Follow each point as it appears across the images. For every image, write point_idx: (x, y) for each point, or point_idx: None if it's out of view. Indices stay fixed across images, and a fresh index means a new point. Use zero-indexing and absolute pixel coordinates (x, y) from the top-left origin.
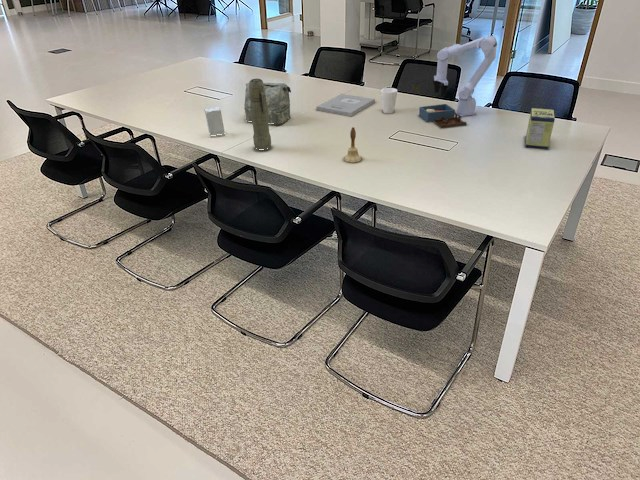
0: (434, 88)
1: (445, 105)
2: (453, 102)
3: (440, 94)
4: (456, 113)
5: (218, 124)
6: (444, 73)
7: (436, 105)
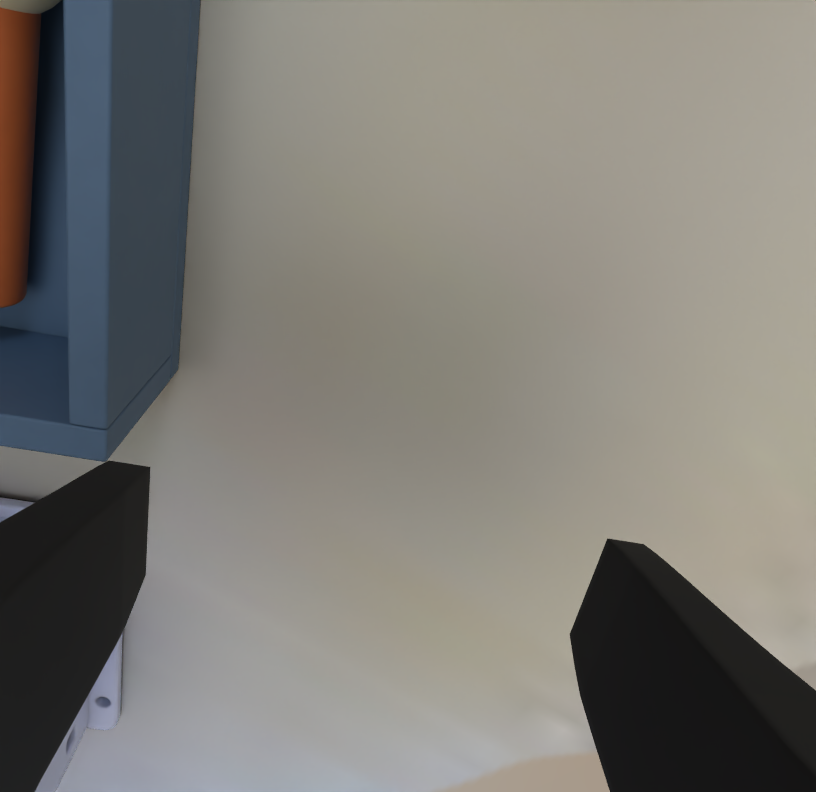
0: (740, 641)
1: (59, 409)
2: (563, 747)
3: (103, 490)
4: (25, 501)
5: None
6: None
7: (68, 149)
